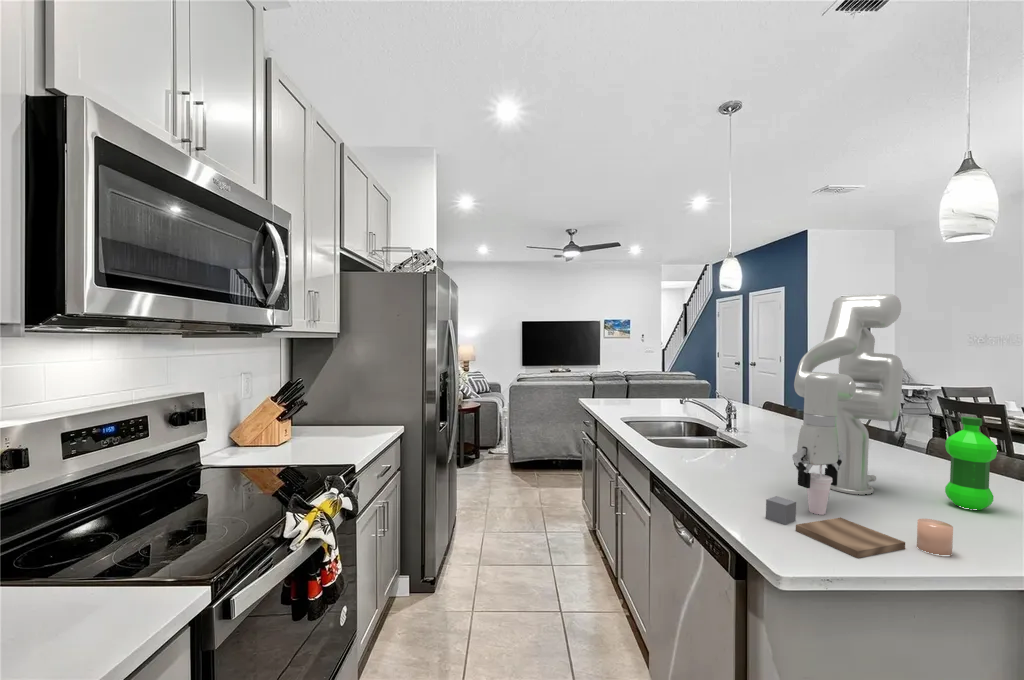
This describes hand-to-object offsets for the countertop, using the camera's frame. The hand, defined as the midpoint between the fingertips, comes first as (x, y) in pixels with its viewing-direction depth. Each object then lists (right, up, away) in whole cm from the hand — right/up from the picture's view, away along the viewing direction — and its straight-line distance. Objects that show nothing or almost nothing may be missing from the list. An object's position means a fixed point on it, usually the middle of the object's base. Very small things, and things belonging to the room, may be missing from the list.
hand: (817, 485), depth 131 cm
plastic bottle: (+46, -8, +6) cm, 47 cm away
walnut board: (-3, -8, -17) cm, 19 cm away
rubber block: (-13, -7, -5) cm, 15 cm away
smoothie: (0, -8, +1) cm, 8 cm away
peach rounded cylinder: (+12, -8, -22) cm, 26 cm away
